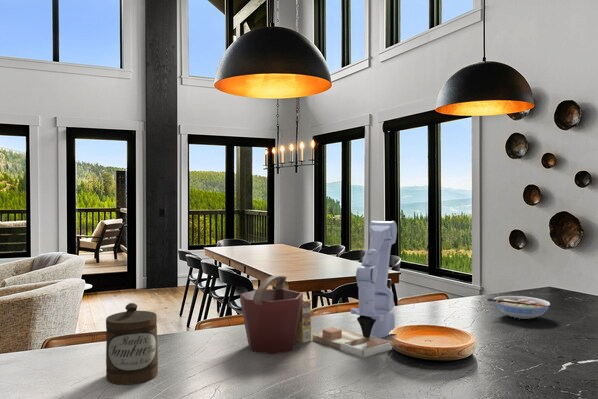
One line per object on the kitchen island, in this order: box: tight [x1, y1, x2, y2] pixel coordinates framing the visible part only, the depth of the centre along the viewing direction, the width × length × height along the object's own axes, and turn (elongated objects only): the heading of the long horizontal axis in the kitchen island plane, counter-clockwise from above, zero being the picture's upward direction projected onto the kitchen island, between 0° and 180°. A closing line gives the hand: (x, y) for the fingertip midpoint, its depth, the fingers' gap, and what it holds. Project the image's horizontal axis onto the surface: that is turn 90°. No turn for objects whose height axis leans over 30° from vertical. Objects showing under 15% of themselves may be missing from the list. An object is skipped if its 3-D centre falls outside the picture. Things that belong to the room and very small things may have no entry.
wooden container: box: [105, 302, 159, 386], centre depth 154 cm, size 15×15×22 cm
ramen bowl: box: [486, 295, 552, 320], centre depth 222 cm, size 25×23×8 cm
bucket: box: [239, 275, 304, 355], centre depth 182 cm, size 24×22×25 cm
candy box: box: [296, 297, 312, 344], centre depth 191 cm, size 9×4×15 cm, turn 33°
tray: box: [339, 335, 393, 359], centre depth 179 cm, size 15×11×2 cm
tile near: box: [367, 338, 387, 348], centre depth 179 cm, size 5×5×2 cm
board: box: [311, 327, 369, 351], centre depth 189 cm, size 15×15×2 cm
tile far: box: [322, 326, 342, 339], centre depth 188 cm, size 5×5×2 cm
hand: (366, 337), depth 184 cm, fingers closed
